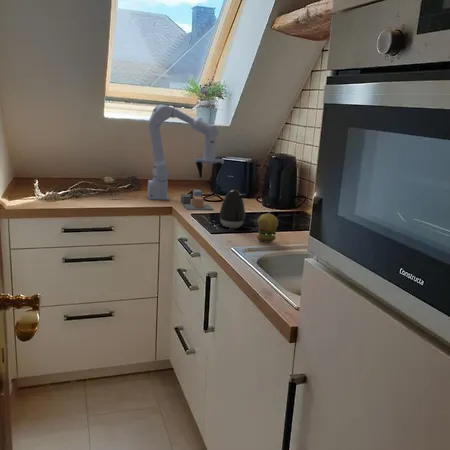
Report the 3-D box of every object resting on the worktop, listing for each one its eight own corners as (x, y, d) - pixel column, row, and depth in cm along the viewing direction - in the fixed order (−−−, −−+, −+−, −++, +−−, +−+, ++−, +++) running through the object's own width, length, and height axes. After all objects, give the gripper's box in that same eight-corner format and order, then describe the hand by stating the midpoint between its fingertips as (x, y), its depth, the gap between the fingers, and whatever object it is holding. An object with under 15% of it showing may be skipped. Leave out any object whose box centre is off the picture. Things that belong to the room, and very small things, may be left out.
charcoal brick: (183, 205, 226) (183, 196, 224) (180, 202, 231) (181, 193, 230) (190, 205, 227) (191, 196, 226) (187, 202, 232) (188, 193, 231)
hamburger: (274, 240, 180) (277, 208, 177) (278, 246, 173) (281, 213, 170) (253, 239, 179) (256, 207, 176) (257, 245, 172) (260, 212, 169)
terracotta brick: (195, 207, 219) (195, 199, 218) (192, 204, 224) (192, 196, 223) (202, 207, 220) (203, 199, 219) (199, 204, 225) (200, 196, 224)
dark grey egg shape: (236, 232, 187) (239, 193, 183) (213, 226, 192) (216, 189, 188) (249, 227, 195) (252, 190, 191) (227, 222, 201) (230, 186, 197)
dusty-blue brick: (194, 199, 238) (195, 191, 237) (192, 197, 244) (193, 189, 243) (201, 200, 239) (202, 192, 238) (199, 197, 244) (200, 189, 243)
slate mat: (186, 210, 216) (186, 208, 216) (183, 205, 224) (183, 204, 224) (212, 210, 219) (213, 208, 219) (208, 205, 227) (208, 204, 227)
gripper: (197, 150, 232) (195, 178, 235) (226, 151, 235) (224, 179, 239) (194, 148, 238) (192, 176, 242) (222, 150, 242) (220, 176, 245)
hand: (208, 177), depth 241 cm, fingers open, 7 cm apart
